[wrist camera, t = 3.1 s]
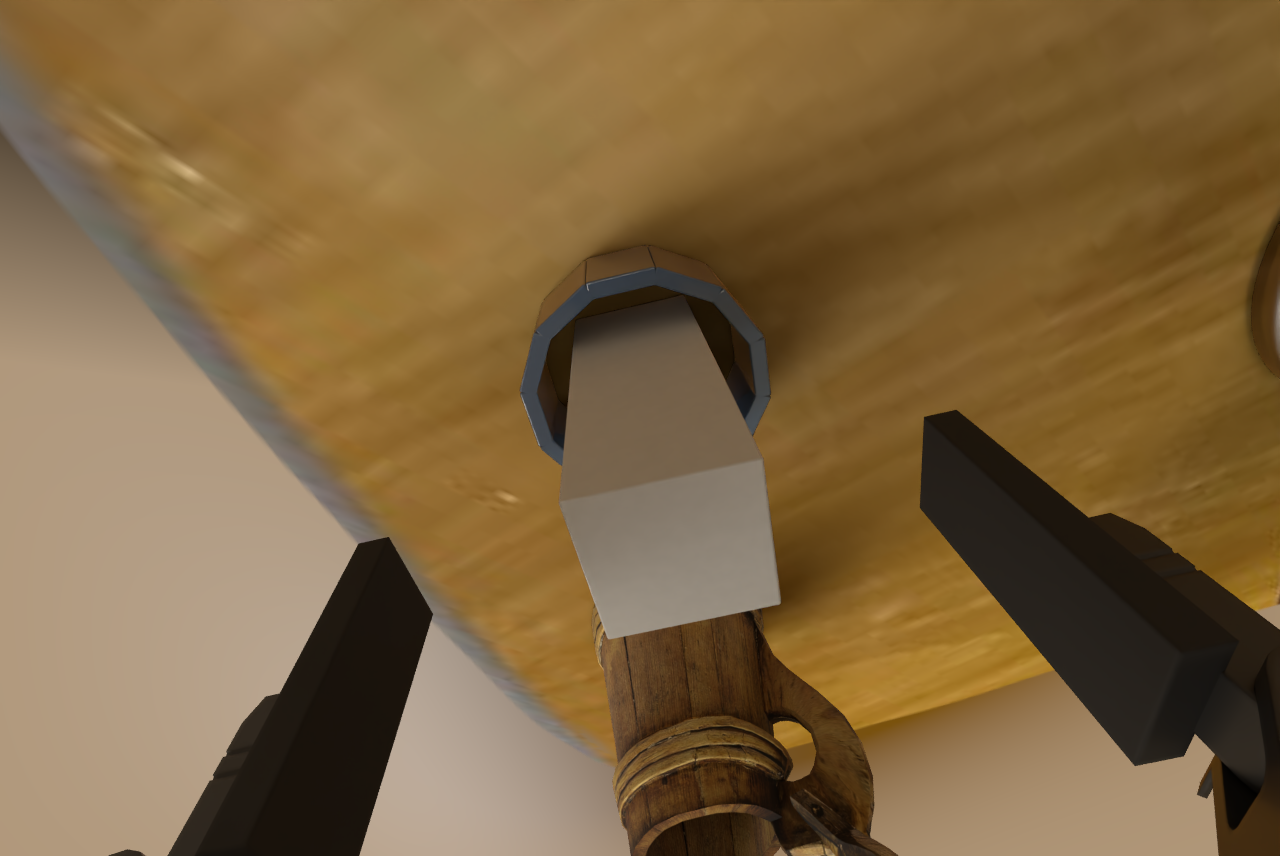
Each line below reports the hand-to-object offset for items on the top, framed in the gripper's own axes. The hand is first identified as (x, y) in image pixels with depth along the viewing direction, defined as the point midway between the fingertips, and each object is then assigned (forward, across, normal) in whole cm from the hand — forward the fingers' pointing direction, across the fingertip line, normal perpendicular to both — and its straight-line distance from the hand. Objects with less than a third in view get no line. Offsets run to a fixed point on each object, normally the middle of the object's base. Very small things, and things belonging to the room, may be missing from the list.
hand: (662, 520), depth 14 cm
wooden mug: (+11, -1, +15) cm, 19 cm away
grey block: (+11, 0, 0) cm, 11 cm away
